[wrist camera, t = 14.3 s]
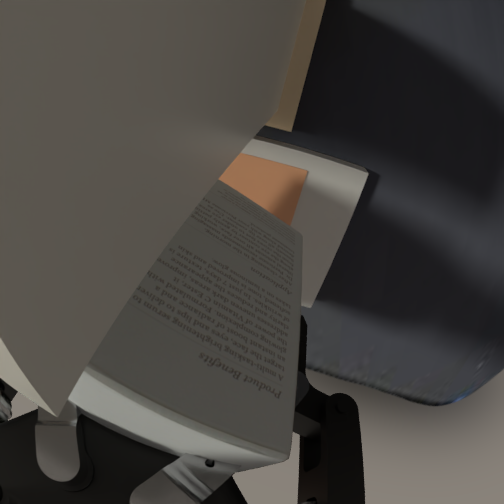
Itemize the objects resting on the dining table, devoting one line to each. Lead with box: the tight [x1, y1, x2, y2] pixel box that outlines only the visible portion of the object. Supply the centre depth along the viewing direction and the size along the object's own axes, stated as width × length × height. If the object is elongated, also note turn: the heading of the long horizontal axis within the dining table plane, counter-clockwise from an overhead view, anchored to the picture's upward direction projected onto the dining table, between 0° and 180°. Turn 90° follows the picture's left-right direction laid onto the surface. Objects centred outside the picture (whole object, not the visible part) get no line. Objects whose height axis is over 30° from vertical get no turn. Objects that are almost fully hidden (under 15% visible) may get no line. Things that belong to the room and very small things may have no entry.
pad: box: [219, 135, 369, 308], centre depth 19 cm, size 14×11×1 cm
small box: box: [68, 179, 303, 472], centre depth 11 cm, size 8×6×10 cm
